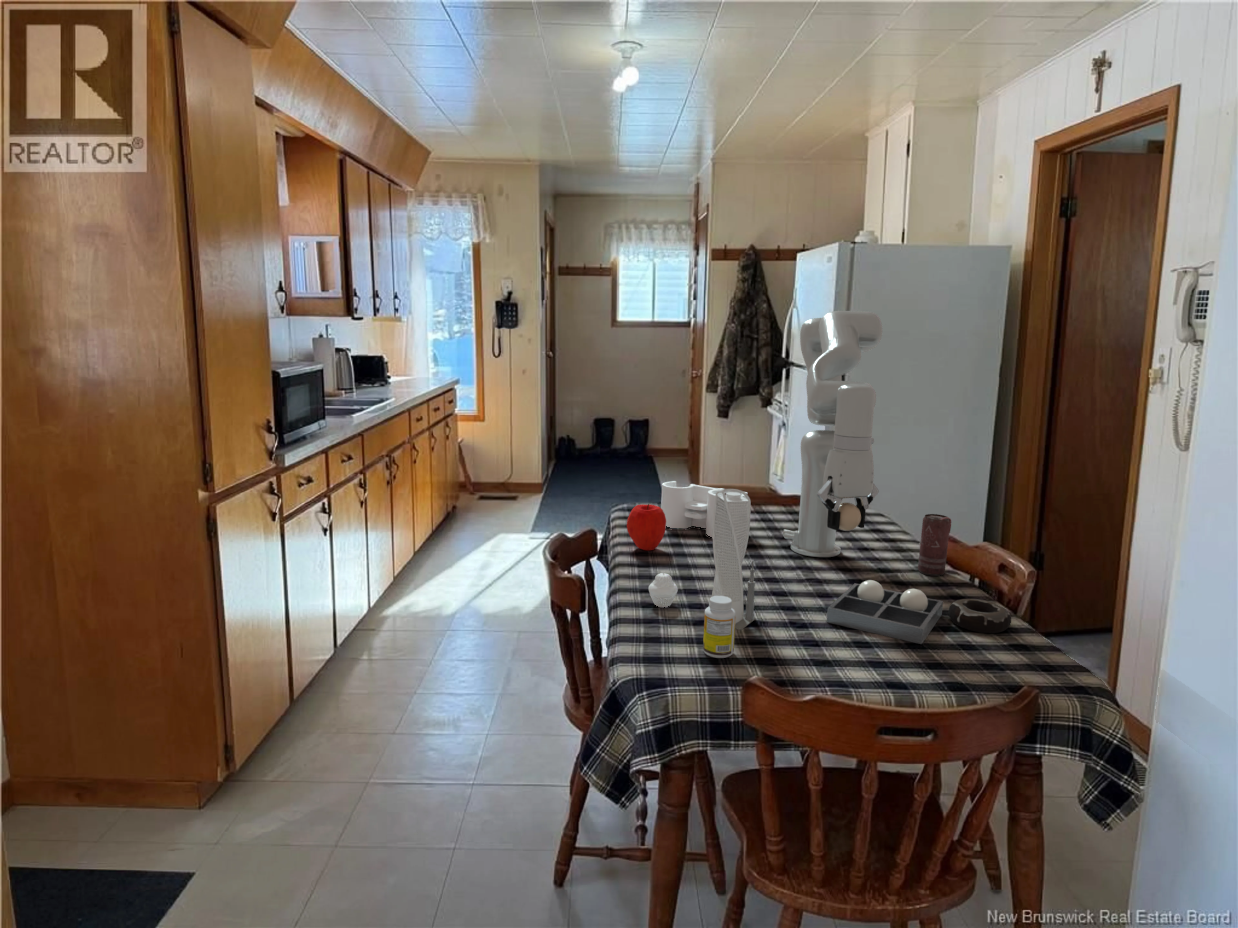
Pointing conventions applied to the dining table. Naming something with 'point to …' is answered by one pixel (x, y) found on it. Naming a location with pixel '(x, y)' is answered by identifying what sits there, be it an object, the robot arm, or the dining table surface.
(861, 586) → the egg left
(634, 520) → the apple
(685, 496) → the bracket
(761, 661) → the dining table surface
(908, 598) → the white ball
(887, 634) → the grey shallow tray
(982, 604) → the donut
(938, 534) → the can
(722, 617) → the supplement bottle
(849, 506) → the brown egg
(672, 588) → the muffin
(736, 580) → the skyscraper
